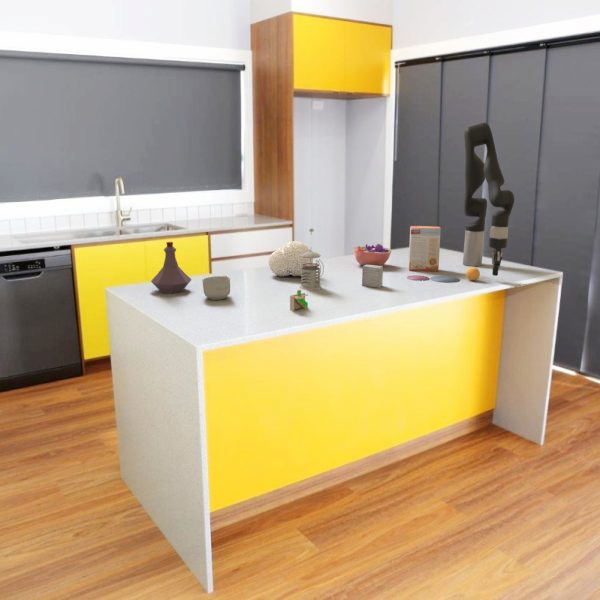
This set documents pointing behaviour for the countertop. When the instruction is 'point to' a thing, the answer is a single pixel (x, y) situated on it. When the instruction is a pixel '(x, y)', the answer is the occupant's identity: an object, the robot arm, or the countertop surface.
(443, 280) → the blue-gray disc
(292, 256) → the cauliflower
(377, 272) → the medicine box
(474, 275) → the ball
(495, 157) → the robot arm
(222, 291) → the teacup
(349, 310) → the countertop surface
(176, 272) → the flask
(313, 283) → the french press
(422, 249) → the cracker box
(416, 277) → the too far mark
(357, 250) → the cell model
